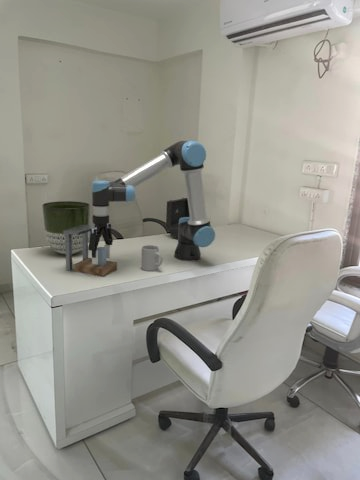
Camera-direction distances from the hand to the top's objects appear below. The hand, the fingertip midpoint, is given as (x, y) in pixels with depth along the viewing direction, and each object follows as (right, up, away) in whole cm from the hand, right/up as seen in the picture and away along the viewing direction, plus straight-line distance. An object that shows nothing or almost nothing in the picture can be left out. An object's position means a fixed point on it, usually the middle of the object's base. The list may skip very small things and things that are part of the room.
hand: (101, 260), depth 175 cm
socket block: (-3, -5, +2) cm, 6 cm away
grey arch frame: (-11, -4, +5) cm, 12 cm away
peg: (0, -6, +2) cm, 6 cm away
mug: (+24, -5, +9) cm, 26 cm away
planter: (-25, +3, +29) cm, 38 cm away
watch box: (+46, +13, +83) cm, 96 cm away
